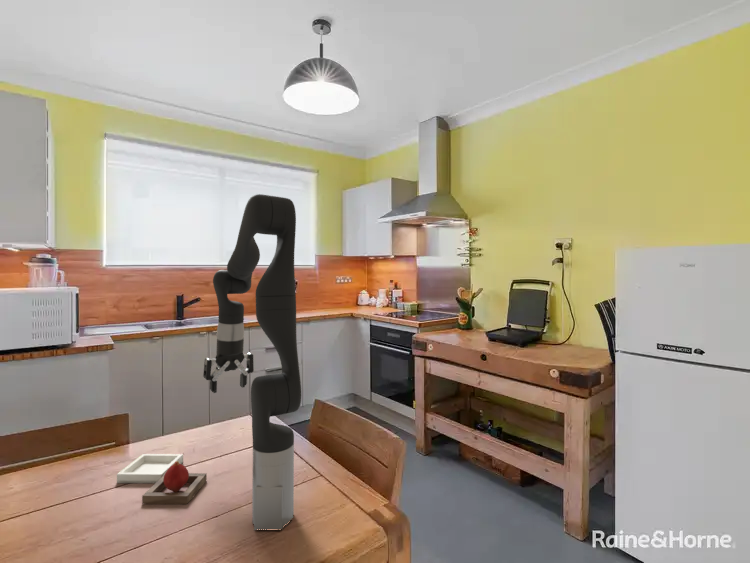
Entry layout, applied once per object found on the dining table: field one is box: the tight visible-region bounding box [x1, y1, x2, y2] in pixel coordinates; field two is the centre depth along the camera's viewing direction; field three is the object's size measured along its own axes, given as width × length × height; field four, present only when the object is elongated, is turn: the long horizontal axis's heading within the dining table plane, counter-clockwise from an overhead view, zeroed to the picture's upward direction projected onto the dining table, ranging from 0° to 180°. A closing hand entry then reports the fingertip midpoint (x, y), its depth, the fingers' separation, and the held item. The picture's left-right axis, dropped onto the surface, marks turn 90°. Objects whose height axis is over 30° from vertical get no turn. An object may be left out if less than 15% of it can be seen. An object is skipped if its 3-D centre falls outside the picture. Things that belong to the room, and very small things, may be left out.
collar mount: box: [141, 472, 208, 505], centre depth 101 cm, size 11×11×2 cm
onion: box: [163, 461, 190, 493], centre depth 101 cm, size 6×6×8 cm
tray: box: [116, 453, 184, 484], centre depth 111 cm, size 12×12×2 cm
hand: (228, 389), depth 117 cm, fingers open, 8 cm apart
